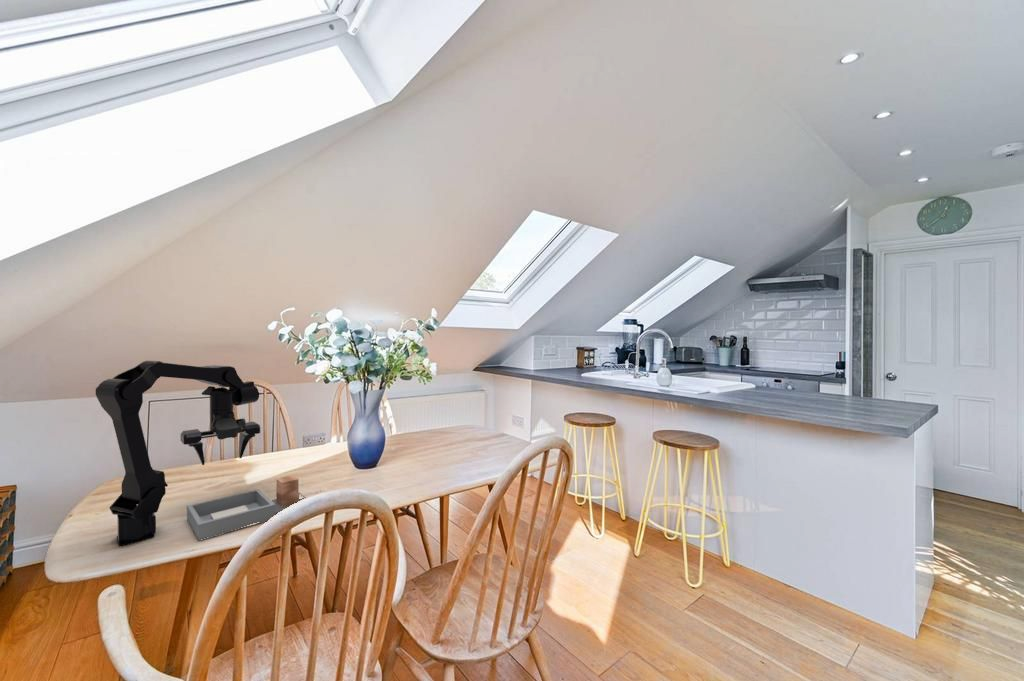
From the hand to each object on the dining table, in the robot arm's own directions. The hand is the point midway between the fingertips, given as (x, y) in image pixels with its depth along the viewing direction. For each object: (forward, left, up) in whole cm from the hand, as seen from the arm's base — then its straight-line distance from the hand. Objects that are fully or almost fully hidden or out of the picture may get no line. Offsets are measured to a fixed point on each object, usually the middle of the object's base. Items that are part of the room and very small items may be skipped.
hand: (222, 461), depth 125 cm
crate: (-1, -15, -12) cm, 19 cm away
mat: (+13, -15, -12) cm, 23 cm away
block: (+13, -15, -11) cm, 23 cm away
